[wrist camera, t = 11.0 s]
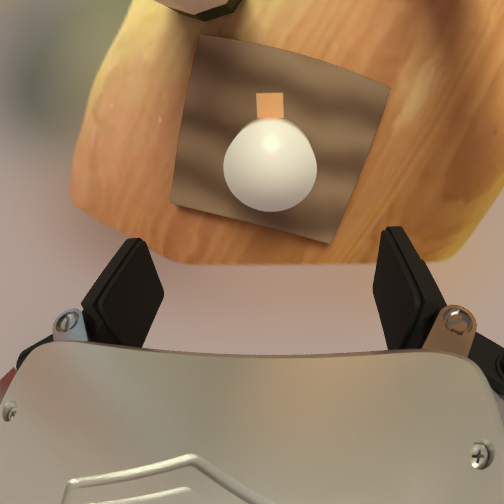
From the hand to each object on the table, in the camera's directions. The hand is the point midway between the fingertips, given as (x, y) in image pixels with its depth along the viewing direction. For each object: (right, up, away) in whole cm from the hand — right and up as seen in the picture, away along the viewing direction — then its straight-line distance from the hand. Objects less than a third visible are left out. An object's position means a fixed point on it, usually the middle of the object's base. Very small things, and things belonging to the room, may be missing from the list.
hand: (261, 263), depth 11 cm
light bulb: (+1, +10, +14) cm, 17 cm away
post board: (+2, +13, +19) cm, 23 cm away
